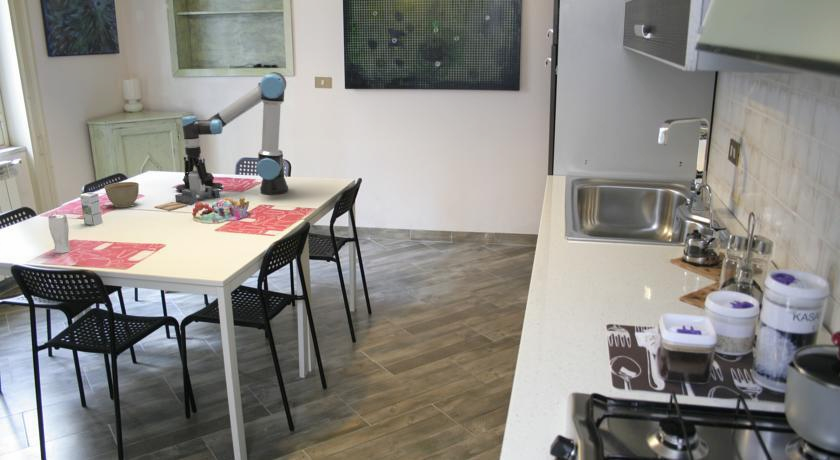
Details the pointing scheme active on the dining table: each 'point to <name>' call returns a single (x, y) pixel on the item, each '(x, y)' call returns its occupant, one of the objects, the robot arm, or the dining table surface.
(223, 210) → the candy landscape model
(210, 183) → the casserole
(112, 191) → the planter bowl
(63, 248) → the beer glass
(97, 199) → the syrup box
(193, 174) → the can
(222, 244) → the dining table surface
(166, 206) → the mat
